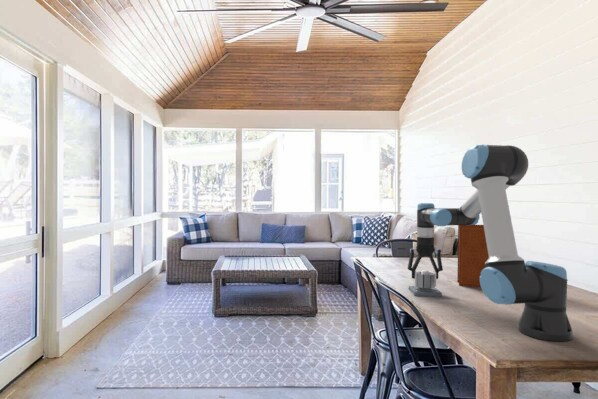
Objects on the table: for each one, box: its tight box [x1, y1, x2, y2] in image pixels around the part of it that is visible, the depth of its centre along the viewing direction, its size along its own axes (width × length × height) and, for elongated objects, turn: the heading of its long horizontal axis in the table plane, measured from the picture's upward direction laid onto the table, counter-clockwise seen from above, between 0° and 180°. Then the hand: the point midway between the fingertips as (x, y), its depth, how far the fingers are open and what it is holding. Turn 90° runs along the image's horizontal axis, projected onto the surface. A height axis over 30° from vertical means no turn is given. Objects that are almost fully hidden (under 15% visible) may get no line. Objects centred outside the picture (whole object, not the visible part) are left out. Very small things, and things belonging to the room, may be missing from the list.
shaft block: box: [408, 269, 443, 297], centre depth 181 cm, size 12×12×10 cm
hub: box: [416, 271, 435, 288], centre depth 181 cm, size 8×8×6 cm
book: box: [456, 224, 489, 288], centre depth 195 cm, size 23×8×30 cm, turn 73°
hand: (424, 285), depth 181 cm, fingers closed on hub, 8 cm apart
